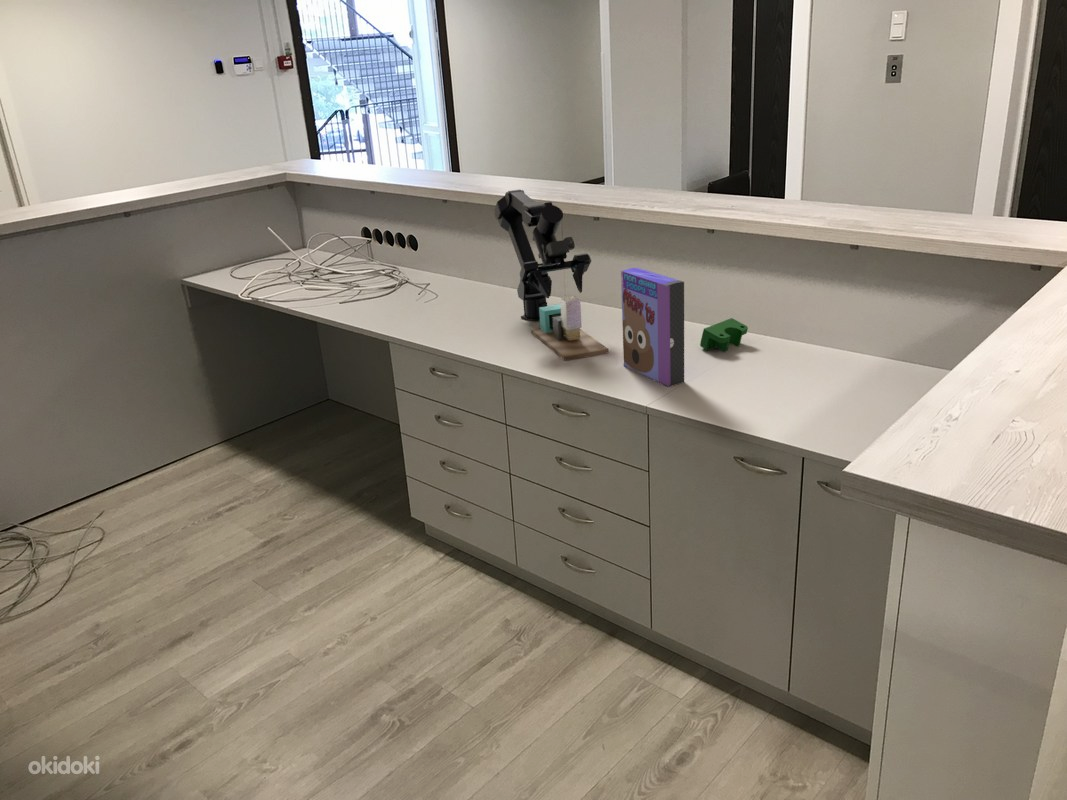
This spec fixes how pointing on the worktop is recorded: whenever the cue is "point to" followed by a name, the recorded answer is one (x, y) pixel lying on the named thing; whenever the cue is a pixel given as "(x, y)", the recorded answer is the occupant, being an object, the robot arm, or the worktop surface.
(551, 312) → the socket block
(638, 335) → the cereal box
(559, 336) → the sleeve
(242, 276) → the worktop surface
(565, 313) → the white-capped post
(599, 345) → the base board
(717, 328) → the clamp
